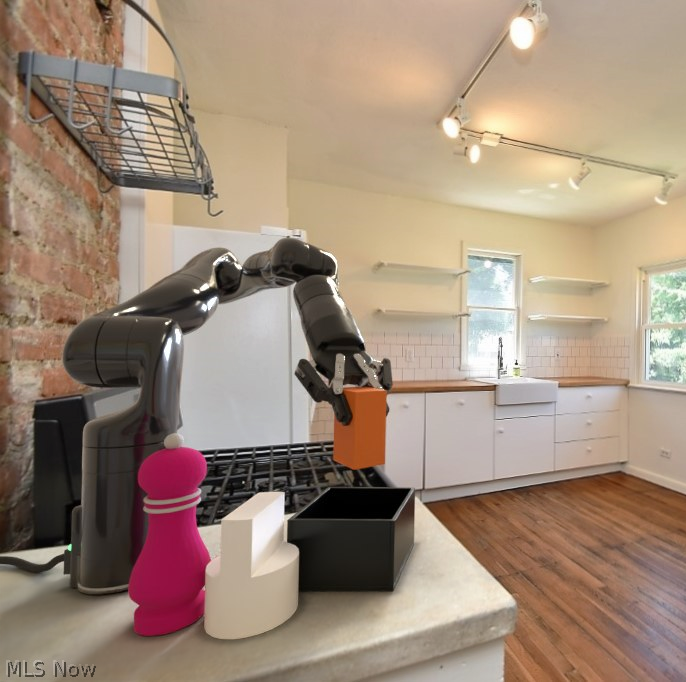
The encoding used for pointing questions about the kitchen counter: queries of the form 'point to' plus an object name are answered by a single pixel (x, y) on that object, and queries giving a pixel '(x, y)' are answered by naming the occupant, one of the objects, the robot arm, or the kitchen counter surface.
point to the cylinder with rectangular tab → (252, 571)
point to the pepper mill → (170, 542)
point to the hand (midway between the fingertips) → (366, 419)
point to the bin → (353, 538)
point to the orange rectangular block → (362, 429)
